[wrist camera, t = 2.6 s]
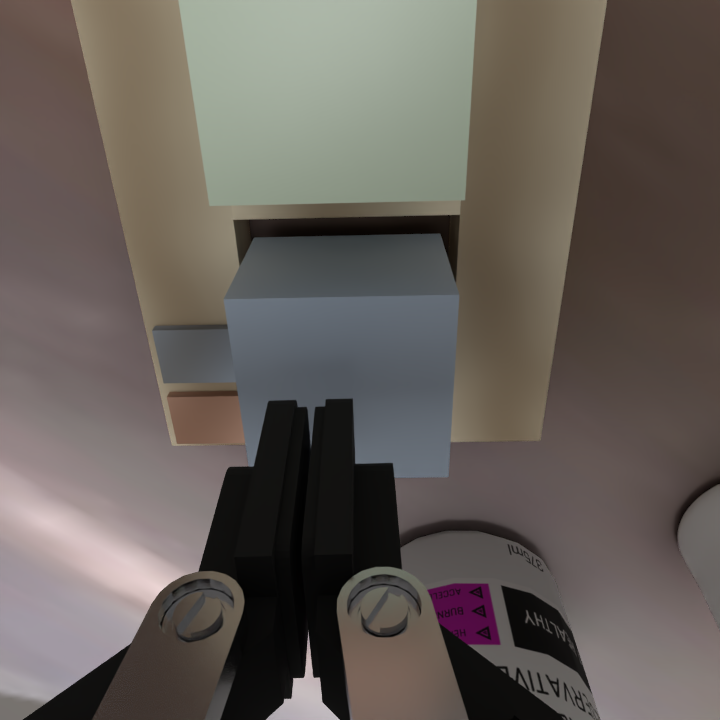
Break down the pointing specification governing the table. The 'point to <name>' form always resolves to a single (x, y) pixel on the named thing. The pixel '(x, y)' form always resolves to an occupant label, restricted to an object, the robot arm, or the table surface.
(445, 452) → the key slate
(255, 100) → the key sage
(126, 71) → the keypad base
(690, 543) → the drinking glass
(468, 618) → the supplement can
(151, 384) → the table surface
